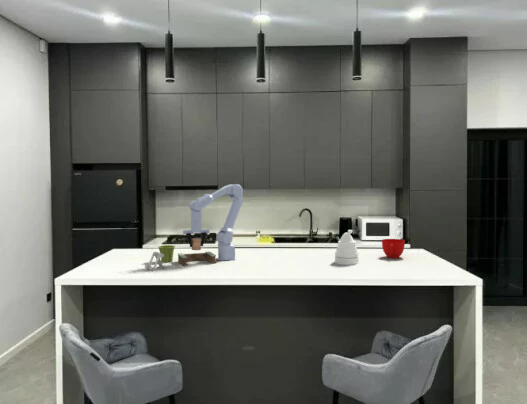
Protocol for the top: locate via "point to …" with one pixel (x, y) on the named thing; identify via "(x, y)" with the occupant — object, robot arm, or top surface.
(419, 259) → the top surface
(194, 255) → the green brown u-shaped frame
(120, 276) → the top surface
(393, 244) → the ceramic cup
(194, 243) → the seedling pot
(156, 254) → the portable electronic device stand
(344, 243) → the honey pot
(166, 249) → the plant pot
